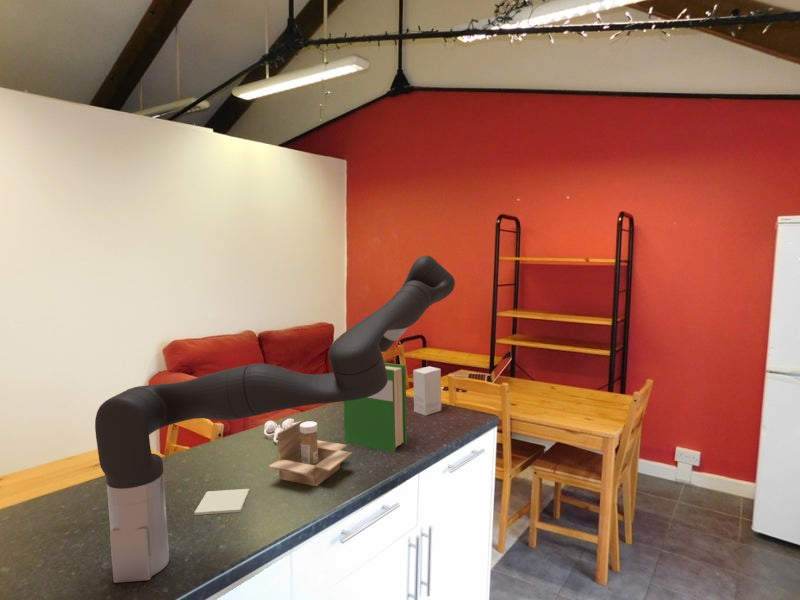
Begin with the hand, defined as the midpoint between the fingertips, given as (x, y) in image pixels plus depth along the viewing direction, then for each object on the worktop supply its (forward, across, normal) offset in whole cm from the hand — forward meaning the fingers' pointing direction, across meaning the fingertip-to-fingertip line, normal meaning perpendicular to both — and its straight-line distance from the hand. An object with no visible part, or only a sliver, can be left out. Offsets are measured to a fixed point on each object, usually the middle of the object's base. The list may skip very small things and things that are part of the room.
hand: (346, 371), depth 124 cm
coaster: (+35, -21, -4) cm, 41 cm away
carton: (+27, 0, -13) cm, 30 cm away
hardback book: (+24, +25, -16) cm, 38 cm away
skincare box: (+22, +59, -18) cm, 65 cm away
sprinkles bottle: (+28, 0, -12) cm, 31 cm away
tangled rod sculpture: (+44, +20, +3) cm, 48 cm away
